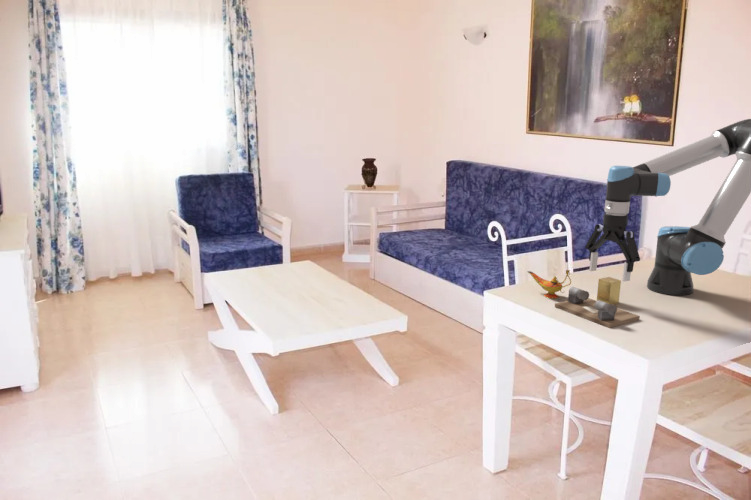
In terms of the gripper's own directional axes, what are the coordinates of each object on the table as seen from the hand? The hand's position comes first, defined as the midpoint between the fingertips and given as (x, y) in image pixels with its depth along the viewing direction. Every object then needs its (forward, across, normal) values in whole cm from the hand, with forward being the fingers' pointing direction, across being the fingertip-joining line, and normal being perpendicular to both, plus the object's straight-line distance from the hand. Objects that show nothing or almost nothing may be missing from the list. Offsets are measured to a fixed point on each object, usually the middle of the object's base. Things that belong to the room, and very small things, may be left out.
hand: (608, 275), depth 208 cm
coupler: (+9, 0, 0) cm, 9 cm away
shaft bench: (+10, +6, -12) cm, 16 cm away
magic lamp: (+10, -16, -12) cm, 22 cm away
